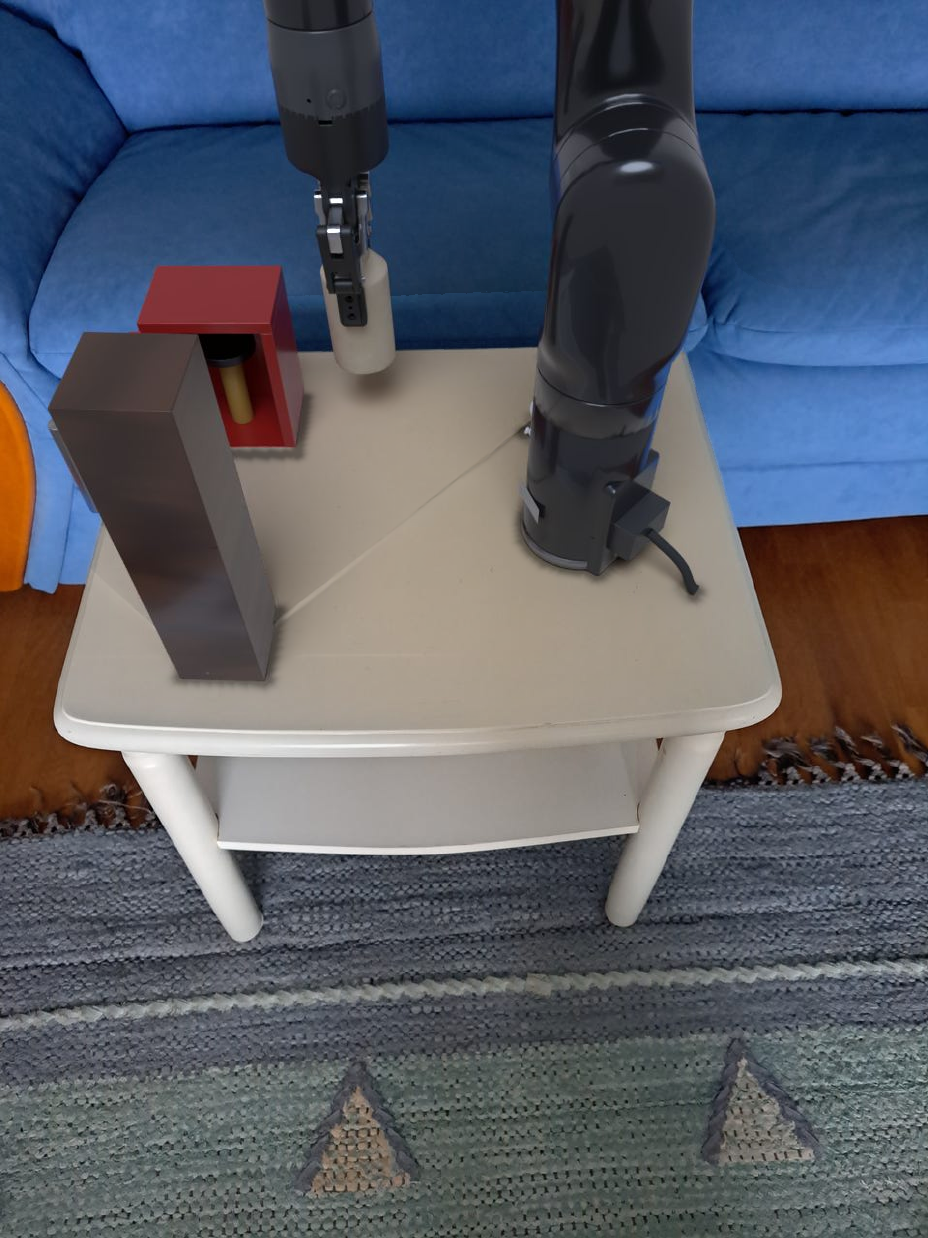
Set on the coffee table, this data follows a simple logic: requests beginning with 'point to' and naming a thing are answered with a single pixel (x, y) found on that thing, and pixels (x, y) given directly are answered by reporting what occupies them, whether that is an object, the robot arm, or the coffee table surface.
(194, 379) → the plinth
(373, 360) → the candle
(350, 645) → the coffee table surface
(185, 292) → the cabinet
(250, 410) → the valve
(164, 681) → the coffee table surface
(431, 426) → the coffee table surface
